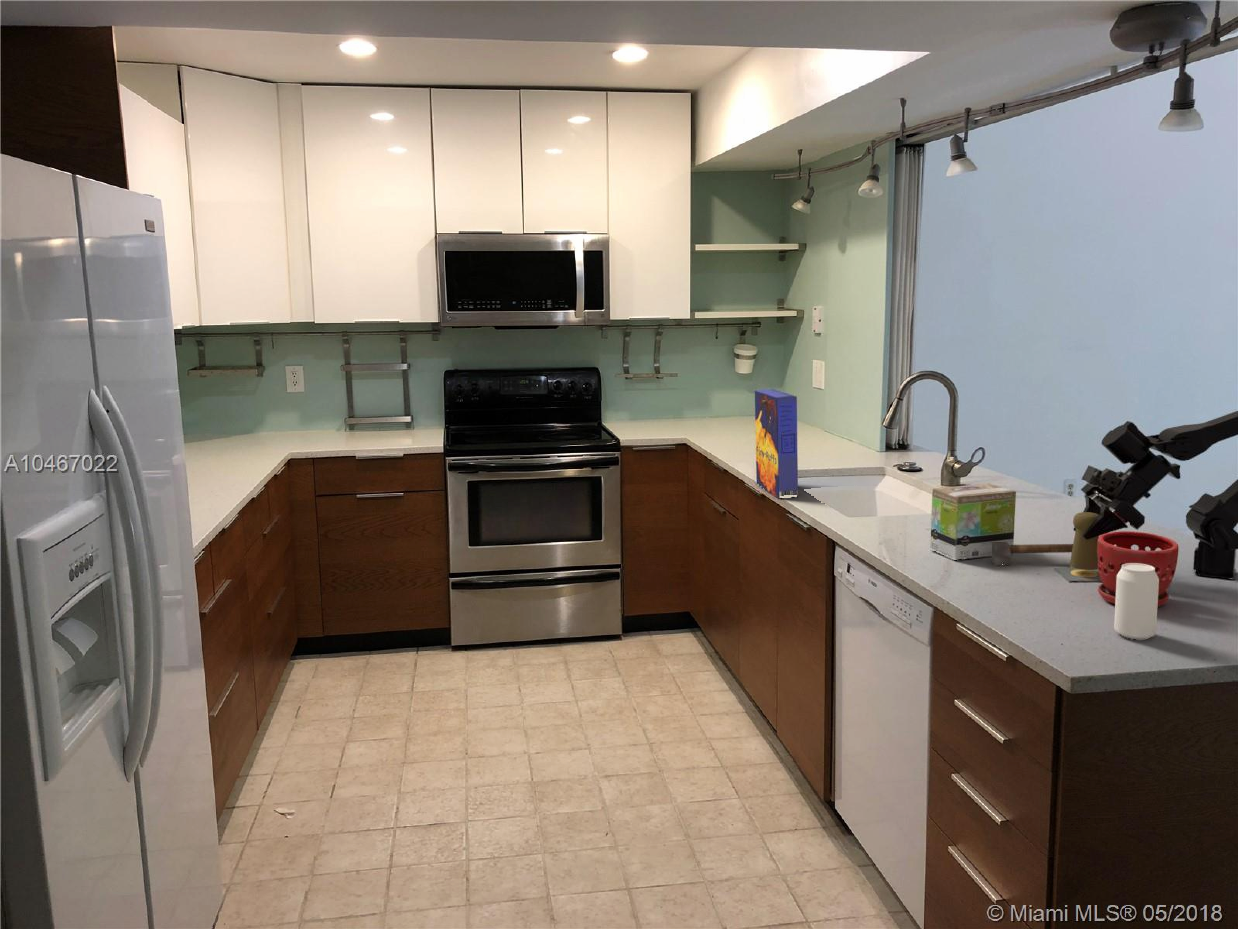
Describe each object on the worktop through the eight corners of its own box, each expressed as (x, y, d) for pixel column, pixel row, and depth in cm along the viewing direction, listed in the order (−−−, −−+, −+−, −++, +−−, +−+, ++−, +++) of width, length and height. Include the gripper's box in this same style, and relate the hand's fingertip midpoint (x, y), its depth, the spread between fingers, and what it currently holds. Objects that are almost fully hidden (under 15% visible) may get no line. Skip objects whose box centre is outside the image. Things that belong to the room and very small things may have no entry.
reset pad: (1098, 568, 196) (1098, 566, 195) (1116, 581, 187) (1116, 579, 187) (1053, 569, 197) (1053, 567, 197) (1068, 582, 188) (1068, 580, 188)
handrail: (1098, 560, 201) (1099, 540, 200) (1103, 564, 198) (1104, 544, 197) (991, 561, 204) (992, 542, 203) (995, 565, 201) (995, 545, 200)
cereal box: (756, 485, 295) (754, 389, 289) (774, 483, 296) (773, 388, 290) (778, 499, 273) (776, 396, 268) (798, 497, 274) (796, 395, 269)
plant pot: (1084, 604, 175) (1087, 541, 173) (1109, 586, 184) (1112, 527, 182) (1162, 618, 166) (1165, 553, 164) (1184, 599, 175) (1188, 537, 173)
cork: (1084, 571, 188) (1086, 518, 186) (1062, 563, 193) (1064, 511, 191) (1109, 567, 189) (1111, 514, 187) (1087, 560, 195) (1089, 508, 193)
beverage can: (1111, 638, 158) (1115, 569, 156) (1116, 626, 163) (1119, 560, 161) (1153, 644, 155) (1157, 574, 152) (1157, 632, 160) (1161, 564, 158)
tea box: (956, 562, 205) (957, 496, 202) (929, 551, 214) (930, 487, 211) (1015, 554, 208) (1017, 489, 206) (986, 543, 218) (987, 481, 215)
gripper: (1092, 444, 196) (1036, 498, 199) (1129, 460, 178) (1066, 519, 181) (1131, 480, 196) (1074, 533, 200) (1172, 499, 178) (1108, 557, 181)
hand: (1079, 534), depth 190 cm, fingers closed on cork, 5 cm apart
